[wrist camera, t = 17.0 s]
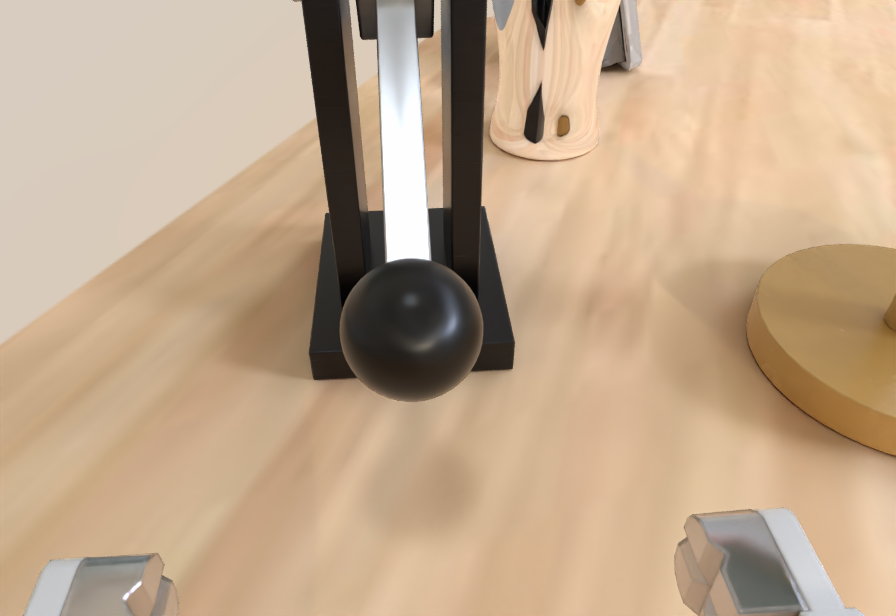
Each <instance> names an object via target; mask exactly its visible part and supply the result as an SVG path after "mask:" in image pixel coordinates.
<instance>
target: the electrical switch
mask: <svg viewBox="0 0 896 616" xmlns="http://www.w3.org/2000/svg"><path fill="white" fill-rule="evenodd" d="M641 62H642V54H641V44H640V34H639V24H638V14H637V4H636V0H621V2H620V5H619V9H618V12H617V15H616V18H615V21H614V24H613V28H612V31H611V34H610V37H609V40H608V44H607V47H606V51H605V54H604V58H603V62H602V67H606V66H611V65H613V64H615V63H618V64H619V65H621V66H622V67H623V68H624V69H626V70H627V71H630V70H632V69H634V68H636V67H638V66H640V64H641ZM602 67H601V68H602Z"/></svg>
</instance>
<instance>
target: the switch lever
mask: <svg viewBox="0 0 896 616" xmlns="http://www.w3.org/2000/svg"><path fill="white" fill-rule="evenodd" d="M356 6H357V15H358V22H359V31H360V37H361V39H363V40H374V39H377V57H378V83H379V109H380V135H381V161H382V187H383V213H384V239H385V263H384V264H382V265H380V266H378V267H376V268H374V269H373V270H371V271H370V272H368V273H367V274H366V275H365V276H364V277H363V278H361V279H360V281H359V282H358V283H357V284H356V285H355V286H354V288H353V289H352V291H351V292H350V294H349V295H348V297H347V299H346V301H345V304H344V307H343V310H342V314H341V319H340V341H341V346H342V350H343V353H344V356H345V359H346V361H347V363H348V364H349V366H350V368H351V369H352V371H353V372H354V374H355V375H356V376H357V377H358V379H359V380H360V381H361V382H362V383H363V384H365V385H366V386H367V387H368V388H370V389H371V390H373V391H375V392H376V393H378V394H380V395H382V396H385V397H387V398H390V399H394V400H398V401H405V402H417V401H425V400H429V399H433V398H436V397H438V396H441V395H443V394H445V393H446V392H448V391H450V390H452V389H453V388H454V387H456V386H457V385H458V384H459V383H460V382H461V381H462V380H463V379H464V378H465V377H466V376H467V375H468V374H469V372H470V371H471V369H472V368H473V366H474V364H475V362H476V361H477V358H478V356H479V353H480V350H481V346H482V341H483V319H482V313H481V310H480V307H479V304H478V302H477V299H476V297H475V295H474V293H473V292H472V290H471V289H470V287H469V286H468V285H467V284H466V282H465V281H464V280H463V279H462V278H461V277H459V276H458V275H457V274H456V273H455V272H453V271H452V270H451V269H449V268H447V267H445V266H443V265H442V264H439V263H436V262H434V261H431V247H430V231H429V215H428V199H427V183H426V168H425V152H424V136H423V120H422V104H421V89H420V73H419V57H418V41H417V38H431V37H432V36H433V34H434V31H433V30H434V0H356Z"/></svg>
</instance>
